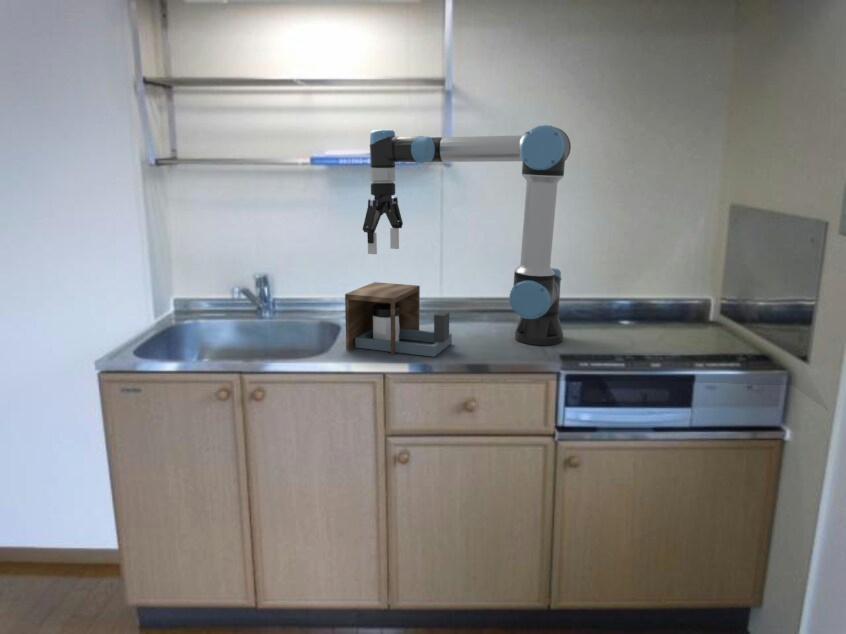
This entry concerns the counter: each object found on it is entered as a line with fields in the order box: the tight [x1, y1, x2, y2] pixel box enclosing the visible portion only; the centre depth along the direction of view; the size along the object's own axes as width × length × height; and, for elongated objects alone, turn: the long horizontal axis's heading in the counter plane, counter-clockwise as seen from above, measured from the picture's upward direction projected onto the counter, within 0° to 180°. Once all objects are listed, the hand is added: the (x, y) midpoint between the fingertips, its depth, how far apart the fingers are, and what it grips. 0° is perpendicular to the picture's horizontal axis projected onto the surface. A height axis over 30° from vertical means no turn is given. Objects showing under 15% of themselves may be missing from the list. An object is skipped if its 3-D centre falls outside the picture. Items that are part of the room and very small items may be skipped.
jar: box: [373, 303, 400, 342], centre depth 205 cm, size 9×8×12 cm
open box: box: [344, 281, 421, 356], centre depth 205 cm, size 16×20×17 cm
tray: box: [354, 310, 453, 358], centre depth 203 cm, size 26×15×11 cm, turn 69°
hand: (383, 251), depth 210 cm, fingers open, 13 cm apart
